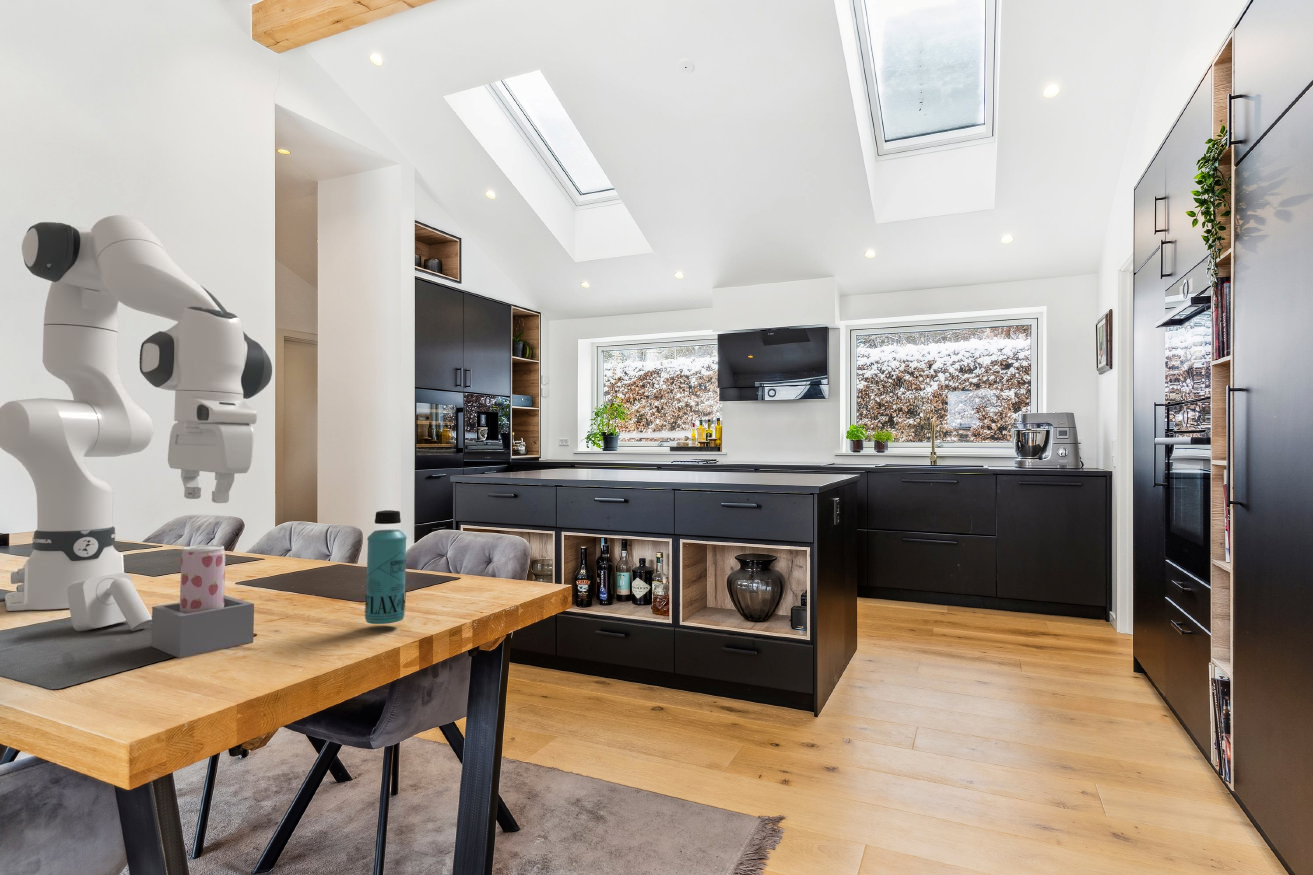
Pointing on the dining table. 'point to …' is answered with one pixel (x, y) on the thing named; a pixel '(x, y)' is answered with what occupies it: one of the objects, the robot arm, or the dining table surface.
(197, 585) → the beverage can
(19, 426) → the robot arm
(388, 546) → the beverage bottle
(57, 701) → the dining table surface
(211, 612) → the open box
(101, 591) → the wall hook
